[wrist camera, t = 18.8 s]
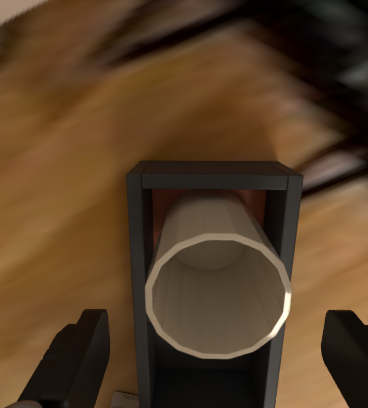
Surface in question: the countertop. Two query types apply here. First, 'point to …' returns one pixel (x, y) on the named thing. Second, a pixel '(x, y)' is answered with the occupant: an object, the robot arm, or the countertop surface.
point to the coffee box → (124, 400)
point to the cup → (215, 278)
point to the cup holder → (140, 264)
